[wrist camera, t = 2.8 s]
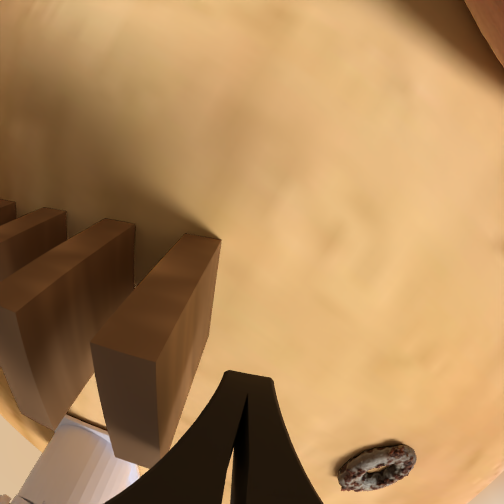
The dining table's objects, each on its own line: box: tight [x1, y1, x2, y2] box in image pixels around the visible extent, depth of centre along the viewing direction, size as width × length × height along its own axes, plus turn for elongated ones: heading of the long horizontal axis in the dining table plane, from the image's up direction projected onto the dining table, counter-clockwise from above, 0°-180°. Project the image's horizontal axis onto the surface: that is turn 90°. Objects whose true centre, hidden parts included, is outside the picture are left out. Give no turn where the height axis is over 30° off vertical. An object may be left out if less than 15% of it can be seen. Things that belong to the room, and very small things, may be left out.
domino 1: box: [0, 207, 67, 367], centre depth 11 cm, size 2×5×8 cm, turn 170°
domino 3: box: [90, 233, 221, 469], centre depth 11 cm, size 2×5×8 cm, turn 170°
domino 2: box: [0, 218, 135, 431], centre depth 11 cm, size 2×5×8 cm, turn 171°
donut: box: [338, 445, 416, 492], centre depth 18 cm, size 8×8×2 cm
